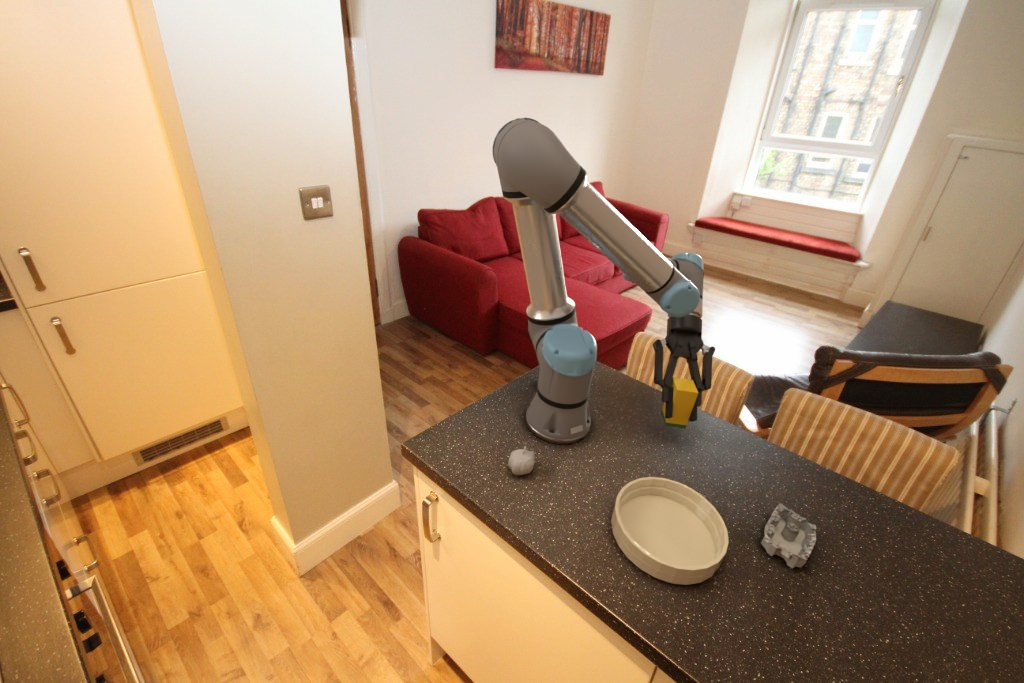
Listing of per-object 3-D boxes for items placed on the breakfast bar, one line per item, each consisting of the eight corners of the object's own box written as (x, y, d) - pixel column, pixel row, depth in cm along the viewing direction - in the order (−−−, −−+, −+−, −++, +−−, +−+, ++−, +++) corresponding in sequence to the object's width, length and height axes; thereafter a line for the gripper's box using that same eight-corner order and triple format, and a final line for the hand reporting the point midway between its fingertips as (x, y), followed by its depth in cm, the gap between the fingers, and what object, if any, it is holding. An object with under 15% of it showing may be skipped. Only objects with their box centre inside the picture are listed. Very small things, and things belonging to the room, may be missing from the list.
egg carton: (799, 575, 76) (809, 560, 74) (754, 546, 80) (762, 531, 78) (815, 537, 83) (824, 523, 81) (772, 513, 87) (780, 498, 85)
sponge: (661, 412, 104) (672, 376, 99) (680, 415, 104) (692, 379, 99) (665, 426, 100) (677, 389, 95) (685, 429, 99) (698, 392, 95)
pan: (590, 511, 84) (594, 494, 82) (666, 481, 92) (671, 466, 90) (661, 605, 69) (668, 588, 67) (744, 560, 77) (753, 544, 75)
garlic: (521, 455, 95) (523, 437, 93) (540, 469, 92) (542, 450, 90) (501, 469, 91) (502, 450, 89) (520, 484, 88) (522, 465, 86)
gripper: (716, 328, 106) (714, 426, 100) (642, 318, 107) (635, 415, 101) (730, 318, 99) (729, 423, 93) (651, 308, 100) (644, 411, 94)
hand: (680, 419), depth 97 cm, fingers closed on sponge, 4 cm apart
